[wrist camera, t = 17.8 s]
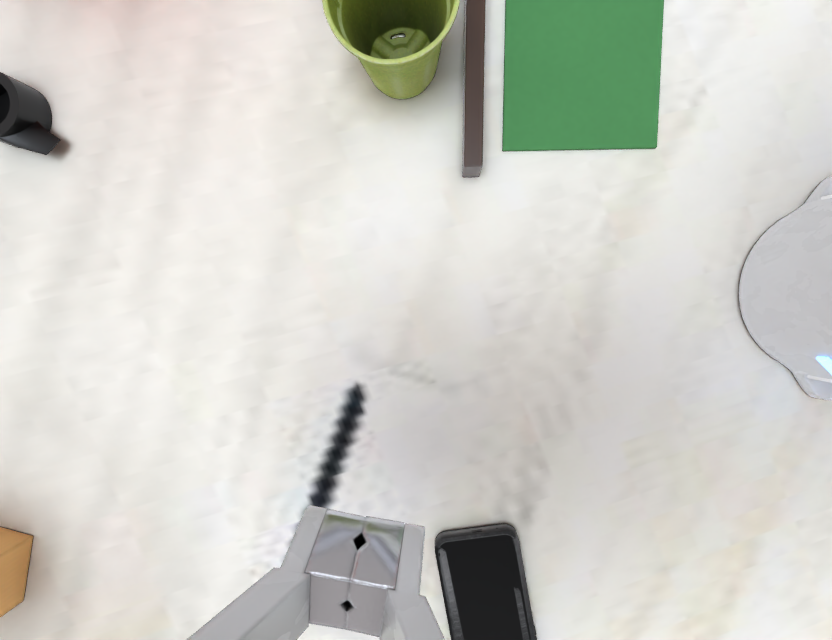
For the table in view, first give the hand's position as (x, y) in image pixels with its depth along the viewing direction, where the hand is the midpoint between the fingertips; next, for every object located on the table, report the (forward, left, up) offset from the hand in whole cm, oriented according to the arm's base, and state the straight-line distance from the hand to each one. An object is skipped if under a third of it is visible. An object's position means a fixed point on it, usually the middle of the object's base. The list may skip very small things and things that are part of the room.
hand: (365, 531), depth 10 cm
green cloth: (-13, -26, -27) cm, 39 cm away
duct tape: (+39, -23, -27) cm, 52 cm away
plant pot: (+2, -26, -27) cm, 38 cm away
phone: (-6, +23, -27) cm, 36 cm away
